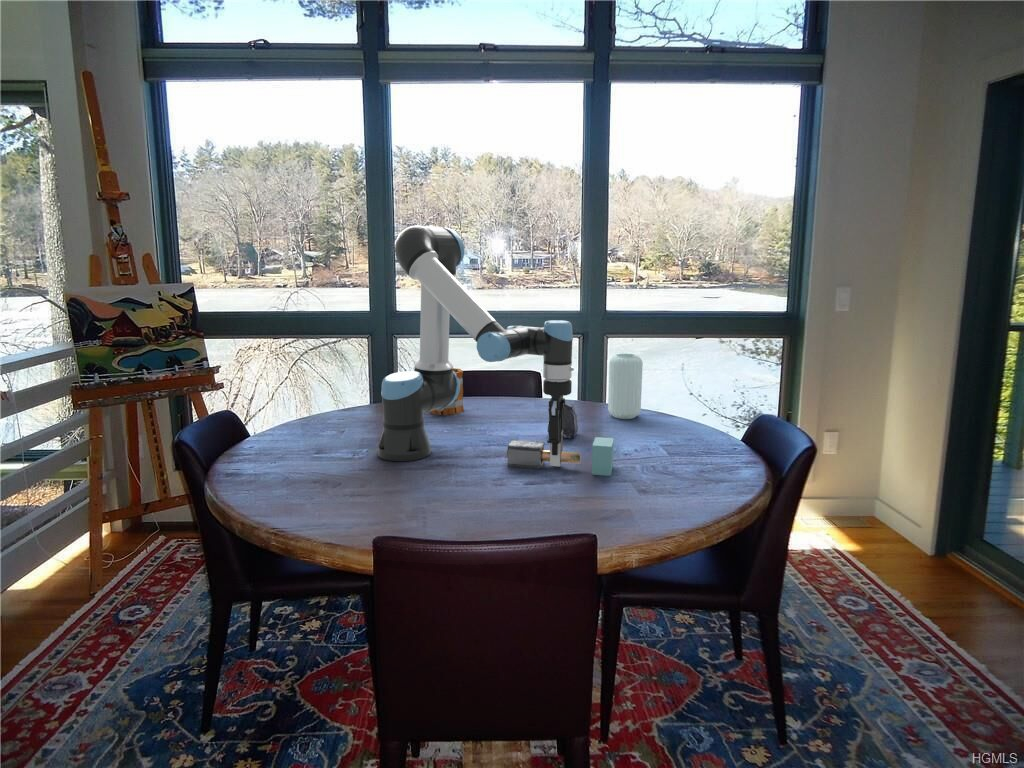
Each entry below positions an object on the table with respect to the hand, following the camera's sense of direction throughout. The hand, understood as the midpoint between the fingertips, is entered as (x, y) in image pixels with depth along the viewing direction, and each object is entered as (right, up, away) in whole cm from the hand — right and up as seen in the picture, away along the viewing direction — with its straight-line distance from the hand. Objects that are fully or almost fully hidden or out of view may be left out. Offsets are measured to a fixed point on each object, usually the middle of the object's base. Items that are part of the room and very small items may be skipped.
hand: (556, 463), depth 178 cm
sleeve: (-8, -1, +2) cm, 8 cm away
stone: (+5, +5, +32) cm, 33 cm away
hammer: (-3, 0, +1) cm, 4 cm away
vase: (+28, +10, +55) cm, 63 cm away
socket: (+12, -2, -2) cm, 13 cm away
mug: (-37, +11, +61) cm, 72 cm away
